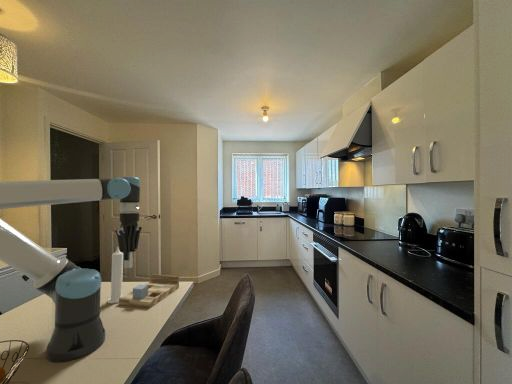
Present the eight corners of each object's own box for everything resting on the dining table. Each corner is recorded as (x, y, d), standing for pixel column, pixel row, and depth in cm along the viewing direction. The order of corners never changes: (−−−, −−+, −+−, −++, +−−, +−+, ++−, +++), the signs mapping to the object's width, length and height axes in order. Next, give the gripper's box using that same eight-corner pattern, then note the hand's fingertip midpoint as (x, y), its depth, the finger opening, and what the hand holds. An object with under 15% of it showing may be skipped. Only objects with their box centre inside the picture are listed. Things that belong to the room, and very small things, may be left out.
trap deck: (149, 308, 101) (150, 294, 101) (118, 304, 104) (119, 291, 104) (178, 287, 125) (179, 276, 125) (152, 285, 128) (152, 274, 128)
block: (141, 299, 104) (141, 289, 104) (132, 298, 105) (132, 288, 105) (147, 295, 108) (148, 285, 109) (139, 294, 109) (139, 284, 109)
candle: (119, 303, 105) (120, 248, 106) (103, 303, 105) (105, 248, 106) (128, 297, 112) (129, 245, 113) (113, 296, 112) (115, 245, 113)
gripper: (125, 213, 93) (124, 272, 92) (147, 211, 106) (146, 263, 105) (109, 213, 94) (108, 271, 94) (133, 211, 107) (132, 262, 107)
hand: (128, 267), depth 99 cm, fingers closed
